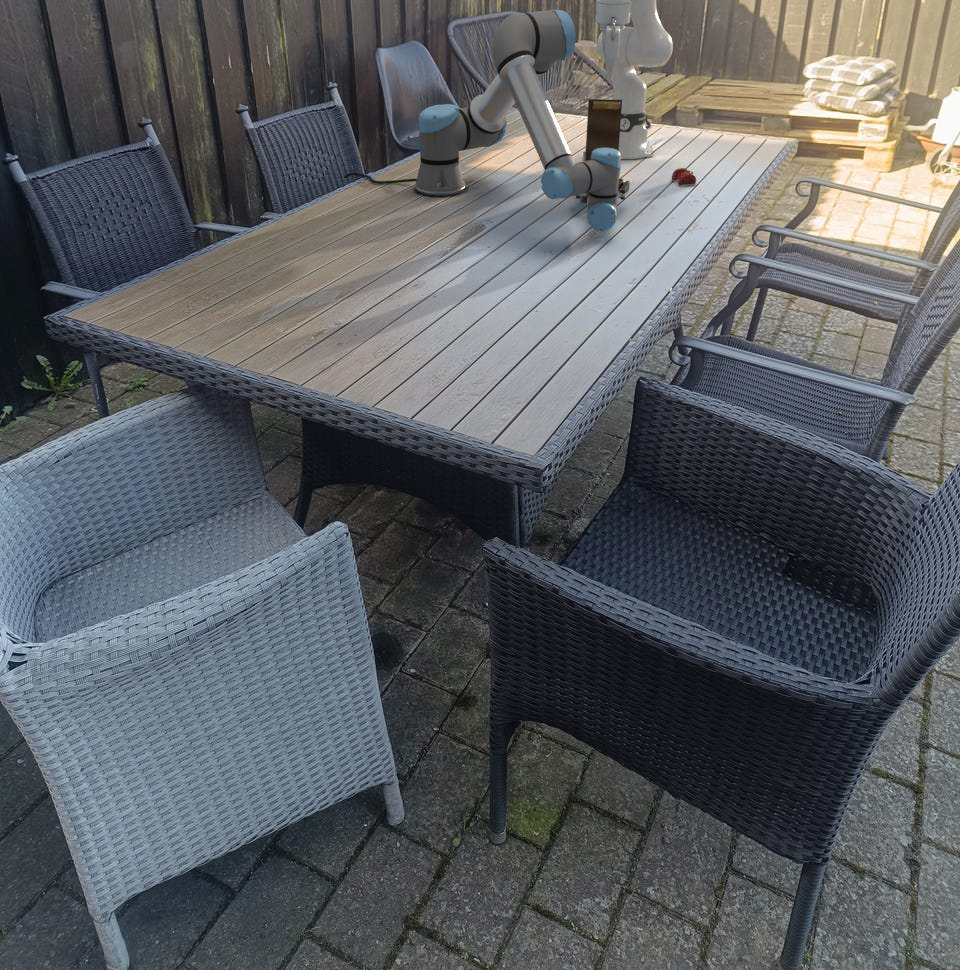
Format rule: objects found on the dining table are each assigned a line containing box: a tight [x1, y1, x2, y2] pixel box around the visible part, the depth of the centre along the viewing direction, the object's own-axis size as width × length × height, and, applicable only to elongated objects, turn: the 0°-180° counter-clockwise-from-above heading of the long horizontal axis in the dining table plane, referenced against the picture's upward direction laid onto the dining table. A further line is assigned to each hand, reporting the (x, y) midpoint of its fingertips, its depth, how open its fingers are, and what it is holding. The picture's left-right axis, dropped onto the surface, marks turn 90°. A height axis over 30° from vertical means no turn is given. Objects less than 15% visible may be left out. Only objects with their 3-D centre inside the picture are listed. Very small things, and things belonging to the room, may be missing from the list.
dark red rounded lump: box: [671, 167, 697, 186], centre depth 263 cm, size 6×4×8 cm
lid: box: [584, 98, 622, 161], centre depth 236 cm, size 17×9×9 cm
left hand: (599, 177), depth 247 cm, fingers closed on chest, 9 cm apart
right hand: (608, 73), depth 227 cm, fingers open, 5 cm apart
